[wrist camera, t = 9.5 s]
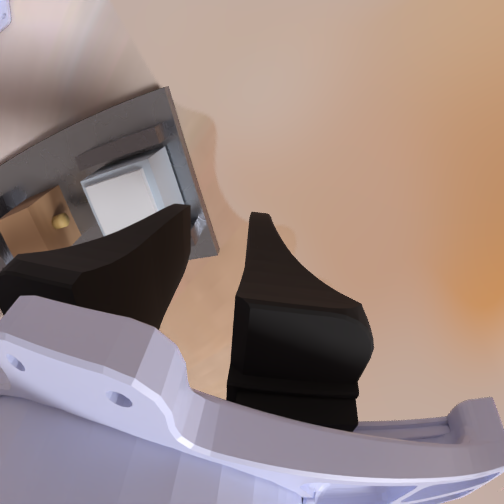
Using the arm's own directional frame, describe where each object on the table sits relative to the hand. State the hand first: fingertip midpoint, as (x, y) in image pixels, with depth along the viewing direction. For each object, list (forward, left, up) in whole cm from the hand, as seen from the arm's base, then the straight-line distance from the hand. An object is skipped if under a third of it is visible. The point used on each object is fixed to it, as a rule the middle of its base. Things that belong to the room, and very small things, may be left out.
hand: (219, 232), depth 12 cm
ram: (0, -7, -8) cm, 11 cm away
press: (0, -14, -9) cm, 16 cm away
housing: (0, -16, -9) cm, 18 cm away
